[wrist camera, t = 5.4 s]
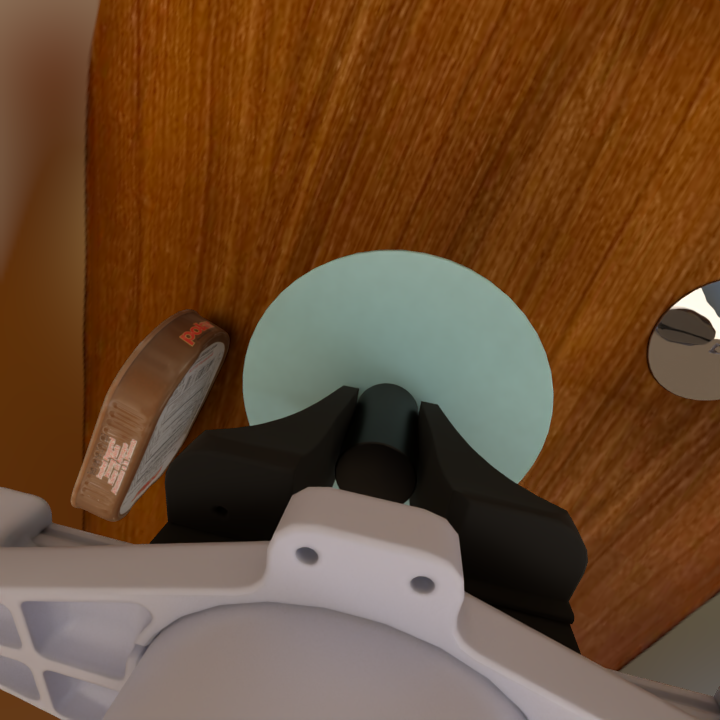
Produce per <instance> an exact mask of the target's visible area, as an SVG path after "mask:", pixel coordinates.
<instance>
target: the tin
mask: <svg viewBox="0 0 720 720" xmlns="http://www.w3.org/2000/svg"><path fill="white" fill-rule="evenodd" d="M229 344H230V338H229V335H228V334H227V332H225V331H224V330H223V329H221V328H220V327H218V326H217V325H215V324H213V323H212V322H210V321H208V320H207V319H205V318H203V317H201V316H200V315H199V314H198V313H197V312H196V311H195V310H191V309H187V310H183V311H179V312H178V313H176V314H174V315H172V316H170V317H169V318H168V319H166V320H165V321H163V322H162V323H161V324H160V325H159V326H158V327H156V328H155V329H154V330H153V331H152V332H151V333H150V334H149V335H148V336H147V337H146V338H145V339H144V340H143V341H142V342H141V343H140V344H139V345H138V347H137V348H136V349H135V350H134V351H133V353H132V354H131V355H130V357H129V358H128V359H127V361H126V362H125V364H124V365H123V366H122V368H121V369H120V371H119V372H118V374H117V376H116V377H115V379H114V381H113V383H112V385H111V386H110V388H109V390H108V392H107V395H106V397H105V399H104V402H103V405H102V408H101V411H100V414H99V417H98V420H97V423H96V426H95V428H94V431H93V434H92V437H91V440H90V443H89V446H88V449H87V452H86V455H85V458H84V460H83V464H82V466H81V469H80V472H79V475H78V478H77V481H76V483H75V486H74V489H73V493H72V496H71V503H72V506H74V507H75V508H82V509H84V510H86V511H88V512H90V513H92V514H94V515H97V516H99V517H101V518H103V519H105V520H108V521H118V520H120V519H122V518H123V517H125V516H126V515H127V514H128V512H129V511H130V509H131V507H132V506H133V505H134V504H135V503H136V501H137V500H138V499H139V498H140V497H141V496H142V495H143V494H144V493H145V492H146V490H147V489H148V488H149V487H150V486H151V485H152V484H154V483H155V482H156V481H157V480H158V479H159V478H160V477H161V476H162V474H163V473H164V472H165V470H166V469H167V468H168V466H169V465H170V463H171V462H172V460H173V459H174V457H175V456H176V454H177V453H178V451H179V450H180V448H181V446H182V445H183V443H184V441H185V439H186V438H187V436H188V434H189V432H190V430H191V428H192V426H193V424H194V422H195V420H196V418H197V416H198V414H199V412H200V410H201V408H202V406H203V404H204V402H205V400H206V398H207V396H208V394H209V392H210V390H211V388H212V386H213V384H214V381H215V379H216V377H217V375H218V373H219V371H220V369H221V367H222V365H223V362H224V360H225V357H226V355H227V352H228V349H229Z"/></svg>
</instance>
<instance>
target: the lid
mask: <svg viewBox="0 0 720 720" xmlns="http://www.w3.org/2000/svg"><path fill="white" fill-rule="evenodd" d="M343 385H345V386H350V387H355V388H359V393H358V399H357V405H356V408H355V411H354V414H353V417H352V419H351V422H350V425H349V428H348V430H347V433H346V436H345V439H344V442H343V444H342V447H341V450H340V453H339V456H338V458H337V461H336V464H335V470H334V472H335V479H336V480H335V482H334V484H333V487H332V488H336V489H340V490H345V491H349V492H353V493H357V494H362V495H366V496H370V497H375V498H379V499H383V500H388V501H392V502H396V503H400V504H405V505H409V506H410V504H409V498H410V497H411V496H412V495H413V493H414V491H415V489H416V485H417V461H418V414H419V409H420V405H421V401H423V402H428V403H433V404H438V405H439V407H440V408H441V410H442V411H443V412H444V414H445V415H446V417H447V418H448V419H449V421H450V422H451V424H452V425H453V426H454V427H455V429H456V430H457V431H458V433H459V434H460V435H461V436H462V437H463V438H464V439H465V441H466V442H467V443H468V444H469V445H470V446H471V447H472V448H473V449H474V450H475V451H476V452H477V453H478V454H479V455H480V456H481V457H482V458H484V459H485V460H486V461H487V462H488V463H489V464H490V465H492V466H493V467H494V468H495V469H497V470H498V471H499V472H501V473H502V474H504V475H505V476H506V477H508V478H509V479H511V480H512V481H514V482H515V483H517V484H518V483H519V482H520V481H521V480H522V478H523V477H524V476H525V474H526V473H527V472H528V471H529V469H530V468H531V467H532V465H533V464H534V462H535V460H536V458H537V457H538V455H539V453H540V451H541V449H542V447H543V444H544V442H545V439H546V436H547V434H548V431H549V426H550V421H551V417H552V411H553V384H552V375H551V370H550V366H549V363H548V359H547V355H546V352H545V350H544V348H543V345H542V343H541V341H540V339H539V337H538V334H537V332H536V331H535V329H534V328H533V326H532V325H531V323H530V322H529V320H528V319H527V317H526V316H525V314H524V313H523V312H522V311H521V310H520V309H519V307H518V306H517V305H516V304H515V303H514V302H513V301H512V300H511V298H510V297H508V296H507V295H506V294H505V293H504V292H502V291H501V290H500V289H499V288H498V287H496V286H495V285H494V284H493V283H492V282H490V281H489V280H487V279H486V278H484V277H483V276H481V275H479V274H478V273H476V272H475V271H473V270H471V269H469V268H467V267H465V266H463V265H460V264H458V263H456V262H454V261H451V260H449V259H445V258H442V257H438V256H435V255H431V254H428V253H422V252H415V251H408V250H375V251H368V252H360V253H356V254H352V255H348V256H345V257H341V258H338V259H335V260H333V261H330V262H328V263H326V264H324V265H321V266H319V267H317V268H314V269H313V270H311V271H310V272H308V273H306V274H305V275H303V276H302V277H300V278H298V279H297V280H296V281H294V282H293V283H292V284H291V285H290V286H288V287H287V288H286V289H285V290H284V291H282V292H281V293H280V294H279V296H278V297H277V298H276V299H275V300H274V301H273V302H272V304H271V305H270V306H269V307H268V308H267V310H266V311H265V313H264V314H263V316H262V318H261V319H260V321H259V322H258V324H257V326H256V328H255V331H254V333H253V335H252V337H251V339H250V343H249V346H248V349H247V353H246V356H245V363H244V370H243V396H244V404H245V410H246V413H247V417H248V421H249V424H250V426H253V425H258V424H263V423H266V422H270V421H274V420H277V419H281V418H284V417H287V416H289V415H292V414H295V413H297V412H299V411H302V410H304V409H306V408H308V407H309V406H311V405H313V404H315V403H317V402H319V401H320V400H322V399H323V398H325V397H327V396H328V395H330V394H331V393H333V392H334V391H336V390H337V389H339V388H340V387H342V386H343Z"/></svg>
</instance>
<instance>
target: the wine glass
mask: <svg viewBox="0 0 720 720" xmlns="http://www.w3.org/2000/svg"><path fill="white" fill-rule="evenodd" d="M647 359H648V365H649V368H650V371H651V373H652V375H653V377H654V378H655V379H656V381H657V382H658V383H659V384H660V385H661V386H662V387H663V388H665V389H666V390H668V391H669V392H671V393H673V394H675V395H678V396H681V397H684V398H688V399H694V400H718V399H720V280H717V281H714V282H711V283H708V284H705V285H703V286H701V287H699V288H697V289H695V290H693V291H691V292H690V293H688V294H686V295H685V296H683V297H682V298H680V299H679V300H678V301H677V302H675V303H674V304H673V305H672V306H671V307H670V308H669V309H668V310H667V311H666V312H665V313H664V314H663V315H662V317H661V318H660V320H659V321H658V323H657V324H656V326H655V327H654V330H653V332H652V334H651V336H650V340H649V344H648V349H647Z"/></svg>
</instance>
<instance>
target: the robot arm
mask: <svg viewBox="0 0 720 720" xmlns="http://www.w3.org/2000/svg"><path fill="white" fill-rule="evenodd" d="M358 393H359V388H355V387H350V386H345V385H343V386H342V387H340V388H339V389H337V390H336V391H334V392H333V393H331V394H330V395H328V396H327V397H325V398H323V399H322V400H320V401H319V402H317V403H315V404H313V405H311V406H309V407H308V408H306V409H304V410H302V411H299V412H297V413H295V414H292V415H289V416H287V417H284V418H281V419H277V420H274V421H270V422H266V423H263V424H258V425H253V426H247V427H240V428H231V429H216V430H205V431H204V432H203V433H202V434H200V435H199V436H198V437H197V438H196V439H195V440H194V441H193V442H192V443H191V444H190V445H188V446H187V447H186V448H185V449H184V450H183V451H182V452H181V453H180V454H179V455H178V456H177V457H176V458H175V459H174V460H173V461H172V462H171V463H170V465H169V467H168V469H167V471H166V477H165V490H166V503H167V515H168V522H167V524H166V525H165V526H164V527H163V528H162V529H161V531H160V532H159V533H158V534H157V535H156V536H155V538H154V539H153V540H152V541H151V542H150V544H131V543H127V542H123V541H119V540H115V539H112V538H108V537H104V536H100V535H96V534H93V533H89V532H85V531H81V530H77V529H73V528H69V527H66V526H62V525H58V524H54V523H52V513H51V509H50V507H49V505H48V503H47V502H46V501H45V500H44V499H43V498H40V497H38V496H36V495H32V494H27V493H24V492H20V491H16V490H12V489H8V488H2V487H0V689H2V690H4V691H6V692H8V693H10V694H13V695H14V696H16V697H19V698H20V699H22V700H24V701H26V702H28V703H30V704H32V705H34V706H36V707H38V708H40V709H42V710H44V711H46V712H48V713H50V714H52V715H54V716H56V717H58V718H60V719H62V720H720V687H719V688H718V690H717V692H716V693H715V696H714V697H713V696H708V695H705V694H702V693H698V692H694V691H690V690H686V689H683V688H679V687H675V686H671V685H667V684H663V683H660V682H656V681H652V680H648V679H644V678H641V677H637V676H633V675H629V674H625V673H622V672H618V671H614V670H610V669H606V668H604V667H602V666H600V665H599V664H597V663H595V662H593V661H591V660H589V659H588V658H586V657H584V656H582V655H581V653H580V650H579V648H578V645H577V642H576V640H575V637H574V634H573V632H572V629H571V626H570V624H572V623H573V622H574V614H573V612H572V609H571V607H570V604H569V600H570V598H571V596H572V594H573V593H574V591H575V589H576V587H577V585H578V583H579V582H580V580H581V578H582V576H583V574H584V572H585V569H586V566H587V563H588V558H587V549H586V547H585V545H584V543H583V541H582V539H581V536H580V534H579V532H578V530H577V528H576V526H575V524H574V523H573V521H572V519H571V517H570V515H569V514H568V512H567V511H566V510H564V509H562V508H560V507H558V506H556V505H554V504H552V503H550V502H548V501H546V500H544V499H542V498H540V497H538V496H537V495H535V494H533V493H531V492H530V491H528V490H526V489H525V488H523V487H521V486H520V485H518V484H517V483H515V482H514V481H512V480H511V479H509V478H508V477H506V476H505V475H504V474H502V473H501V472H499V471H498V470H497V469H495V468H494V467H493V466H492V465H490V464H489V463H488V462H487V461H486V460H485V459H484V458H482V457H481V456H480V455H479V454H478V453H477V452H476V451H475V450H474V449H473V448H472V447H471V446H470V445H469V444H468V443H467V442H466V441H465V439H464V438H463V437H462V436H461V435H460V434H459V433H458V431H457V430H456V429H455V427H454V426H453V425H452V424H451V422H450V421H449V419H448V418H447V417H446V415H445V414H444V412H443V411H442V410H441V408H440V407H439V405H438V404H433V403H428V402H423V401H421V405H420V409H419V414H418V461H417V485H416V489H415V491H414V493H413V495H412V496H411V497H410V498H409V504H410V506H409V505H405V504H400V503H396V502H392V501H388V500H383V499H379V498H375V497H370V496H366V495H362V494H357V493H353V492H349V491H345V490H340V489H336V488H332V487H333V484H334V482H335V480H336V479H335V472H334V470H335V464H336V461H337V458H338V456H339V453H340V450H341V447H342V444H343V442H344V439H345V436H346V433H347V430H348V428H349V425H350V422H351V419H352V417H353V414H354V411H355V408H356V405H357V399H358Z"/></svg>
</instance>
